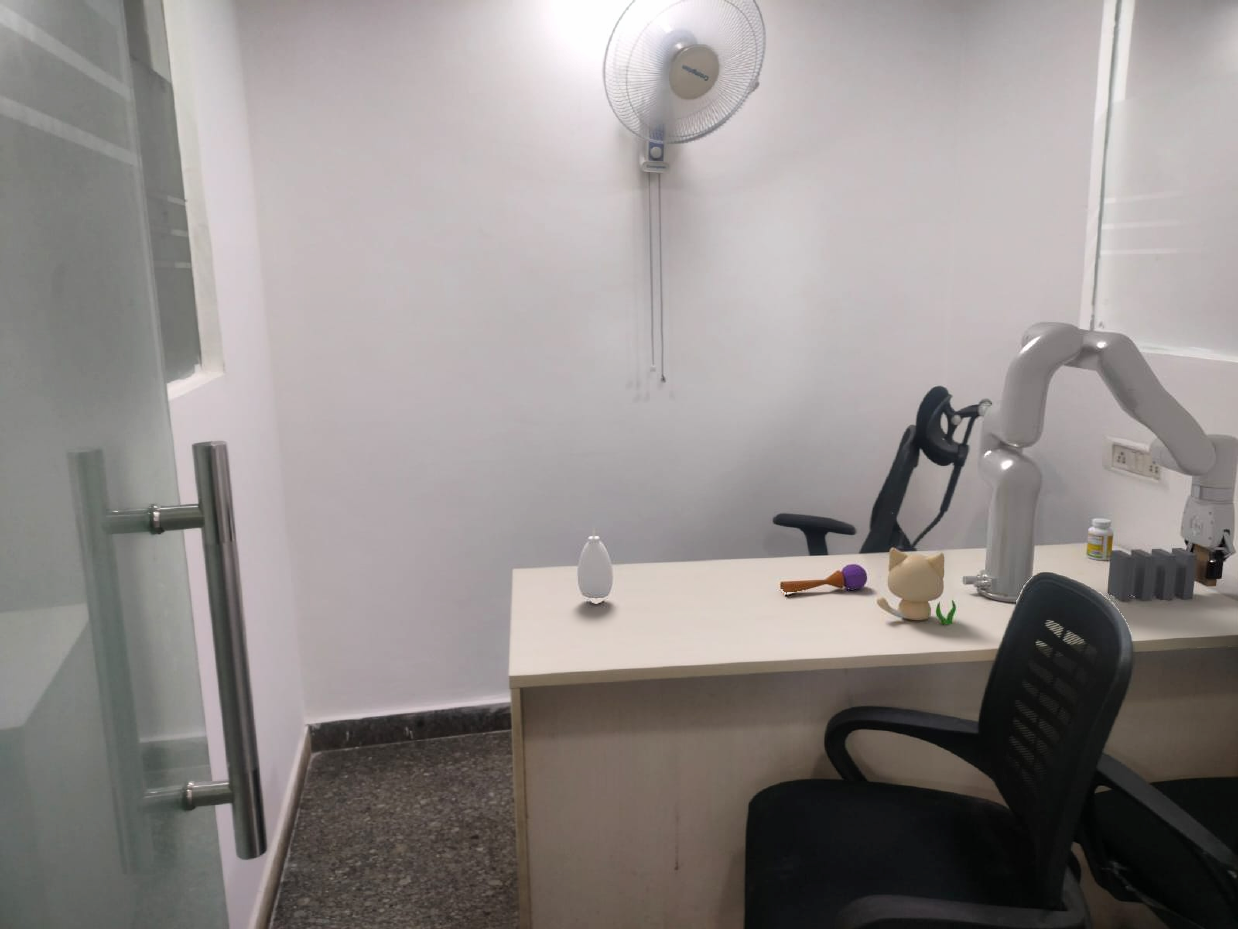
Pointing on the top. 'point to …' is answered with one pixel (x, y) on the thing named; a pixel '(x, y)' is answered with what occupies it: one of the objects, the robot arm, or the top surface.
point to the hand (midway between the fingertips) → (1203, 573)
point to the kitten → (916, 585)
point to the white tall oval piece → (595, 569)
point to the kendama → (831, 580)
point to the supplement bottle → (1100, 540)
